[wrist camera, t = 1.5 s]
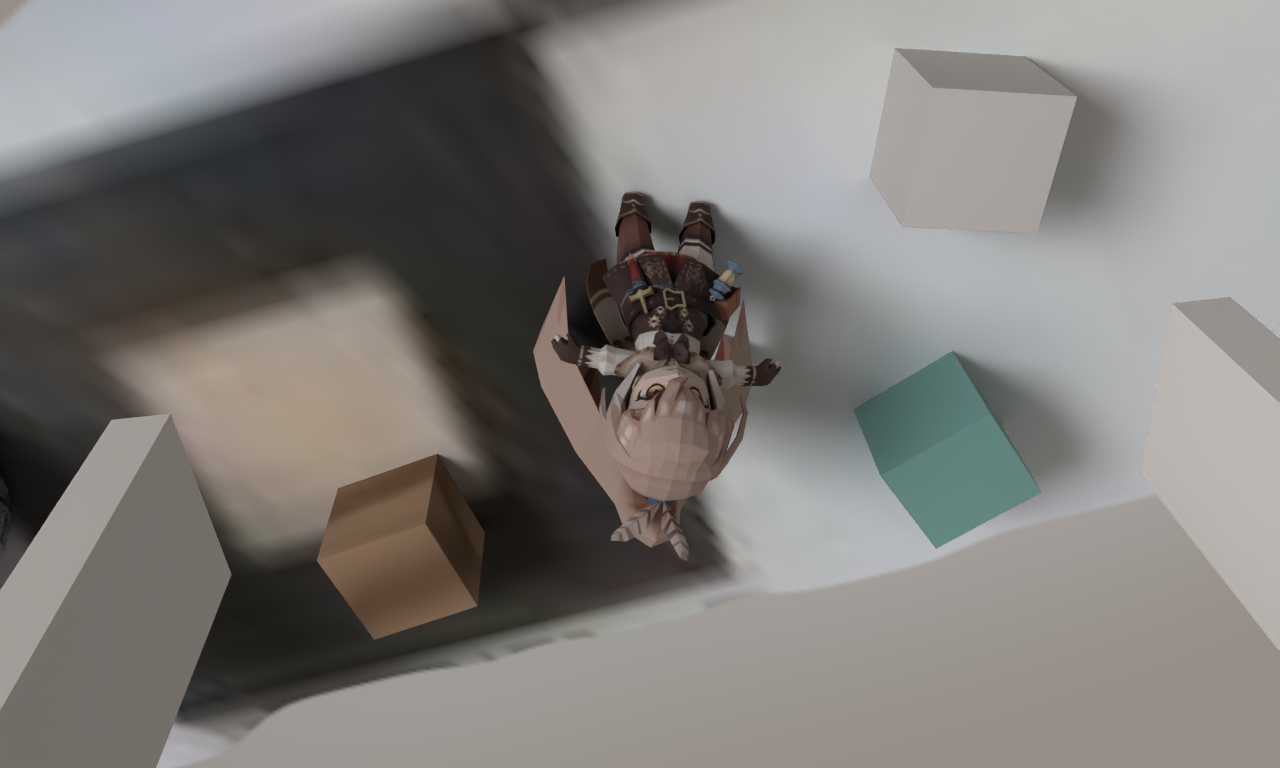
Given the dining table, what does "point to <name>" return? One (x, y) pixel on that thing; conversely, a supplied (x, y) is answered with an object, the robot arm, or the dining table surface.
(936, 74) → the grey cube
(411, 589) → the walnut cube
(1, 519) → the vase
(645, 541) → the toy
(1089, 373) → the dining table surface
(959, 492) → the teal cube
